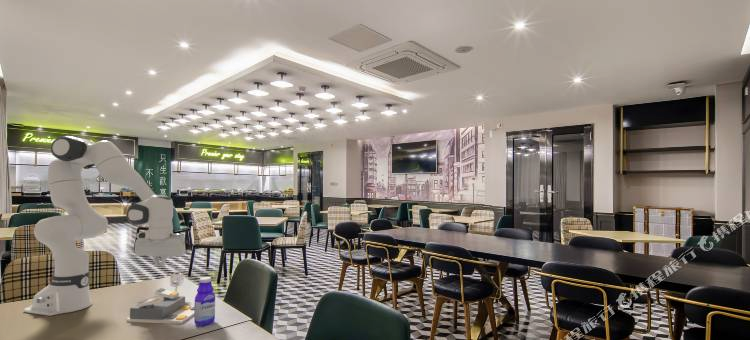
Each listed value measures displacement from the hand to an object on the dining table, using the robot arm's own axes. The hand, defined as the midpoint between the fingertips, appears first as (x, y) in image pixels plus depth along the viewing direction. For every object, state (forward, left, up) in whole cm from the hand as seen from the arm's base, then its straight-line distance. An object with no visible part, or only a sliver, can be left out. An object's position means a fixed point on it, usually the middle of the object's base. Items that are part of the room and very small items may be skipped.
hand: (160, 266), depth 151 cm
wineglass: (0, +13, -18) cm, 22 cm away
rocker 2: (+3, 0, -12) cm, 12 cm away
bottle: (+26, -11, -18) cm, 34 cm away
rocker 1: (+3, -10, -12) cm, 16 cm away
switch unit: (+7, -5, -18) cm, 20 cm away
